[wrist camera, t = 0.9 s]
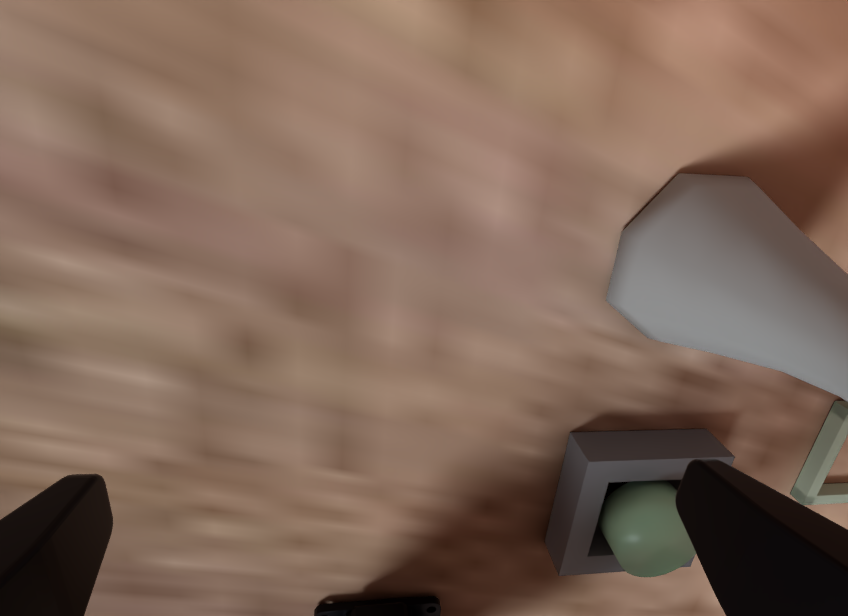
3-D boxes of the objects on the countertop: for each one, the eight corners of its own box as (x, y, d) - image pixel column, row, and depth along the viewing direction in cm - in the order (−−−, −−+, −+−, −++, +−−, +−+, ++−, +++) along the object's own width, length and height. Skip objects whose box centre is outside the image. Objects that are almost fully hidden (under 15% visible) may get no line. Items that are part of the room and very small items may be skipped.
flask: (809, 208, 20) (1174, 311, 11) (708, 357, 23) (942, 539, 14) (668, 139, 18) (973, 198, 9) (574, 310, 21) (744, 487, 12)
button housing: (667, 534, 27) (690, 566, 26) (544, 541, 26) (558, 575, 25) (706, 428, 25) (735, 456, 23) (570, 432, 23) (588, 461, 22)
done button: (665, 538, 25) (689, 574, 23) (590, 543, 25) (609, 580, 23) (688, 475, 24) (716, 508, 22) (608, 479, 23) (630, 513, 21)
